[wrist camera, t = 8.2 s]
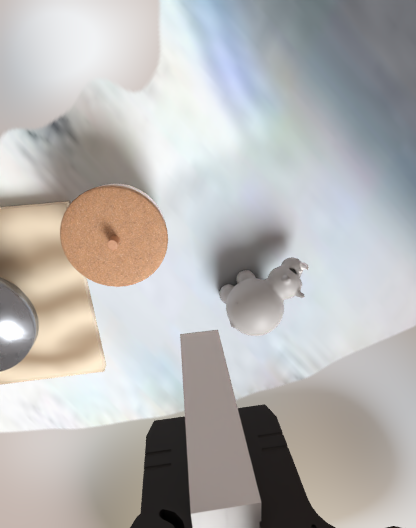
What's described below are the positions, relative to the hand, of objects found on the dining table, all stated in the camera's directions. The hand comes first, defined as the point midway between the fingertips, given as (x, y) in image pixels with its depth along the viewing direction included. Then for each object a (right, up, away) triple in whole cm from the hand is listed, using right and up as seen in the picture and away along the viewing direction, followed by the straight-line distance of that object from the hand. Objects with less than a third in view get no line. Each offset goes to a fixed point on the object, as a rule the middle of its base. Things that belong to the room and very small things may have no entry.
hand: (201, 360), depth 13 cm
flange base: (-25, -1, +29) cm, 39 cm away
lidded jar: (-10, +9, +27) cm, 30 cm away
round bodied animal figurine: (+7, +2, +32) cm, 33 cm away
